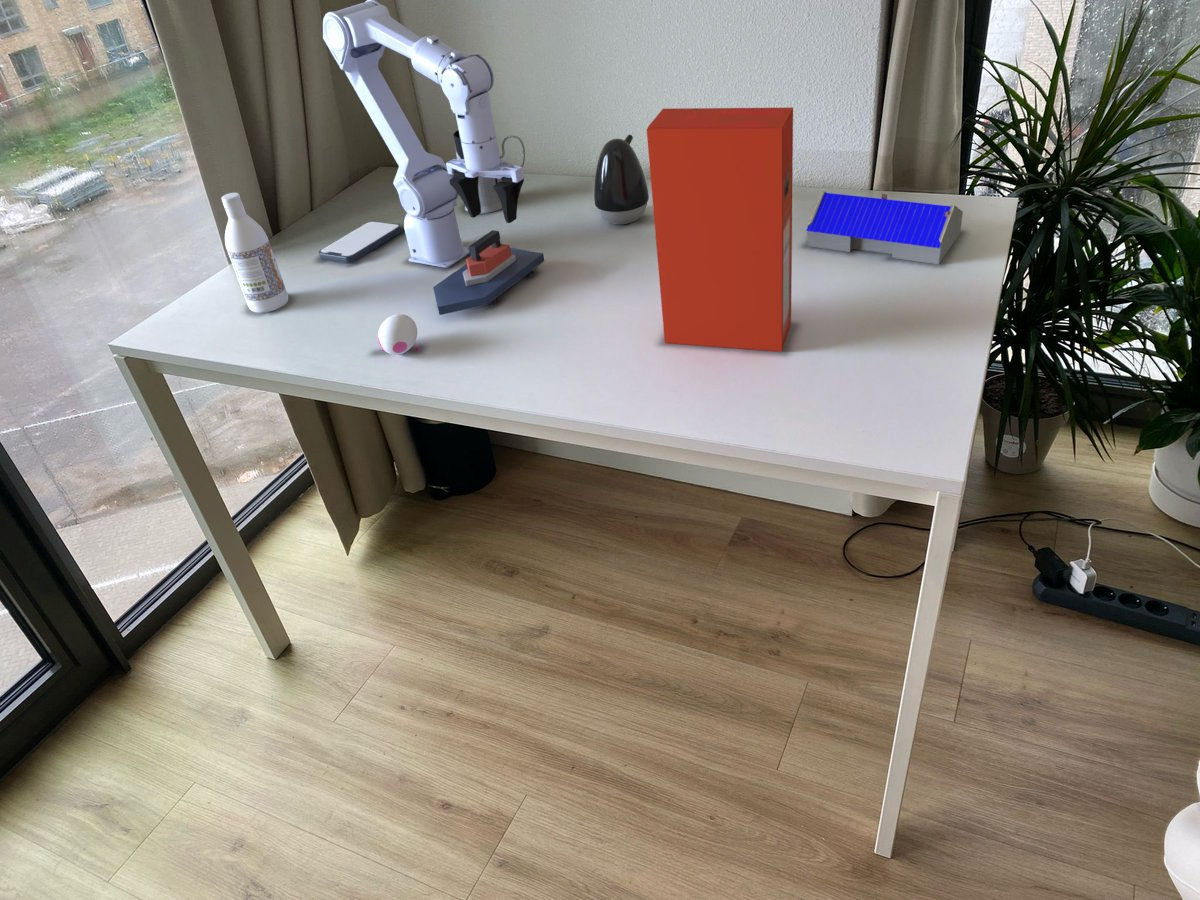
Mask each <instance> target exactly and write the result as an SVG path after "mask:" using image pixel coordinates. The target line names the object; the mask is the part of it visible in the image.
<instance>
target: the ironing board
mask: <svg viewBox="0 0 1200 900" xmlns="http://www.w3.org/2000/svg"><path fill="white" fill-rule="evenodd" d="M510 249H511V255H515V256H516V261H515V262H513V263H512V264H511V265H509V266H508V267H507V268H505V269H504V270H502V271H501V272H500V273H498V274H497V275H496V276H494V277H493V278H492V279H490V280H489V281H487V282H483V283H479V284H474V285H469V286H466V283H465V280H464V276H463V272H464V271H465V270H467V269H468V267H467V263H465V264H464V265H462V266H460V267H459V268H458V269H457V270H455V271H454V272H452V273H451V274H449V275H448V276H447V277H445V278H444V279H442V280H441V281H439V282H438V283H437V284H435V285H434V286H433V287H432V289H433V292H434V297H435V302H436V307H437V311H438V315H439V316H443V315H446V314H447V315H448V314H451V313H457V312H460V311H465V310H466V311H467V310H470V309H475V308H479V307H484V306H488V305H489V306H494V305H495V304H496V303H497V298H499V296H501V295H502V294H503V293H504V292H506V291H507V290H508V289H510V288H511V287H512V286H514V285H516V283H518V282H519V281H520V280H521V279H523V278H524V277H528V278H529V277H532V276H533V275H534V270H535V269H536V268H537V267H539V266H540V265H542V264H543V263H544V262H545V254H544V252H538V251H533V250H527V249H522V248H521V249H520V248H514V247H510Z"/></svg>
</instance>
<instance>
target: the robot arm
mask: <svg viewBox="0 0 1200 900" xmlns="http://www.w3.org/2000/svg"><path fill="white" fill-rule="evenodd" d="M389 11H390V10H389V9H388V7H387V6H386V5H383V4H381V3H380V2H379V1H378V0H366V1H365V2H361V3H358V4H355V5H351V6H348V7H345V8H342V9H339V10H335V11H328V12H326V13H325V15H324V17H323V19H322V39H323V41H324V43H325V44H326V46H327V47H328V49H329V52H330V53H331V55H332V57H333V59H334V60H335V61H336V63H337V65H338V67H339V69H340V70H341V71H344V73H345V76H346V77H347V79H348V80H349V83H350V84H351V86H352V87H353V89H354V91H355V93H356V95H357V96H358V98H359V100H360V101H361V103H362V105H363V106H364V108H365V110H366V112H367V113H368V115H369V117H370V119H371V120H372V123H373V124H374V126H375V127H376V130H377V131H378V133H379V135H380V136H381V138H382V139H383V141H384V143H385V145H386V146H387V148H388V150H389V152H390V153H391V155H392V157H393V158H394V161H395V162H396V164H397V166H398V167H397V168H398V169H397V171H396V174H395V177H394V179H393V185H394V187H395V189H396V191H397V194H398V198H399V202H400V204H401V207H402V208H403V210H404V211H405V212H406V214H405V216H404V222H403V229H404V233H405V238H406V241H407V245H408V249H409V253H410V257H409V258H408V262H411V263H417V264H422V265H427V266H434V267H439V268H445V269H448V268H450V267H451V266H453V265H454V264H456V263H458V262H459V261H460V260H462V259H463V258H465V257H466V256H468V255H470V254H469V249H468V246H464V245H463V243H462V238H461V233H460V230H459V224H458V219H457V216H456V209H455V207H456V206H457V205H458V204H457V199H458V198H459V197H460V199H461V200H462V202H463V204H464V207H465V206H466V208H467V210H468V211H467V212H468V214H469V216H470V218H472V219H474V218H476V217H477V216H479V215H481V214H480V213H481V205H480V199H479V191H478V177H479V176H483V177H491V178H499V179H501V181H500V182H499V183H497V184H495V185H494V186H493V187H494V189H495V191H496V193H497V195H498V197H499V199H500V202H501V205H502V209H501V210H502V214H503V218H504V220H505V222H506V224H511V223H512V222H515V220H517V216H518V215H517V214H518V213H517V212H518V203H519V198H520V193H521V190H522V187H523V185H524V182H525V175H524V166H523V167H521V165H515V164H512V163H510V162H507V161H504V160H502V159H500V156H501V155H500V150H499V145H498V138H497V133H496V128H495V121H494V115H493V110H492V106H491V100H490V94H489V91H490V92H491V90H492V89H493V87H494V82H495V76H494V71H493V69H492V67H491V64H490V63H489V61H487V59H486V58H484V57H483V56H482V55H481V54H480V53H472V54H463V53H462V52H461V51H459V50H458V49H455V48H453V47H451V46H449V45H448V44H446V43H445V42H442V41H441V40H440V37H438V36H437V35H436V34H432V35H425V36H423V37H420V36H418V35H417V34H416V33H414V32H413V31H411V30H410V29H409V28H408V27H406V26H404V25H403V24H402V23H400V22H399V21H397V20H396V19H395V18H393V17H392V16H391V14H390V12H389ZM386 48H388V49H390V50H392V51H394V52H396V53H398V54H400V55H402V56H404V57H406V58H408V59H410V60H411V65H412V67H413V69H414V70H415V72H418V73H419V74H421V75H423V76H424V77H426V78H427V79H430V80H431V81H433V82H434V83H436V84H438V85H439V86H441V89H442V92H443V94H444V95H445V97H446V98H447V99H448V102H449V105H450V110H451V111H452V113H453V114H455V119H456V123H457V128H458V130H459V134H460V139H461V144H462V149H463V154H464V159H457V158H452V159H450V160H448V161H446V163H445V162H444V161H445V160H443V158H442V157H441V156H438V155H435V154H433V153H430V152H429V151H428V152H427V151H426V150H425V148H424V147H423V144H422V142H421V141H420V139H419V138H418V136H417V134H416V132H415V131H414V129H413V127H412V125H411V123H410V121H409V120H408V118H407V116H406V115H405V113H404V112H403V111H404V110H403V109H402V108H401V106H400V104H399V102H398V101H397V99H396V96H395V95H394V93H393V92H392V90H391V88H390V86H389V84H388V82H387V81H386V79H385V78H384V75H383V74H382V72H381V71H380V68H379V63H380V62H379V60H380V59H381V58H382V57H383V55H384V52H385V49H386ZM420 175H421V176H420ZM416 177H417V178H416Z"/></svg>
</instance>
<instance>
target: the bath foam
mask: <svg viewBox="0 0 1200 900" xmlns="http://www.w3.org/2000/svg"><path fill="white" fill-rule="evenodd" d="M221 202H222V204H223V207H224V210H225V213H226V215H227V218H228V220H227V223H226V227H225V231H224V232H225V233H224V244H225V249H226V251H227V254H228V256H229V259H230V262H231V265H232V268H233V270H234V272H235V275H236V278H237V281H238V283H239V285H240V289H241V291H242V293H243V294H242V295H243V296H244V299H245V302H246V305H247V307H248V309H249V310H250V311H252V312H254V313H258V314H264V313H270V312H273V311H276V310H278V309H280V308H282V307H284V306H285V305H286V304H287V303H288V301H289V295H288V291H287V289H286V285H285V282H284V280H283V277H282V274H281V271H280V269H279V266H278V263H277V260H276V257H275V254H274V251H273V248H272V245H271V243H270V240H269V237H268V235H267V234H266V233H267V232H266V231H265V230H264V228H263V227H262V226H261V224H259V223H258V222H257V221H256V220H255V219H253V218H252V217H250V216H249V215H248V214H247V212H246V209H245V207H244V203H243V202H242V199H241V195H240V193H238V192H229V193H226V194H224V195H223V196H221Z"/></svg>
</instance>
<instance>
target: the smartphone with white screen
mask: <svg viewBox="0 0 1200 900" xmlns="http://www.w3.org/2000/svg"><path fill="white" fill-rule="evenodd" d="M402 232H403V229H402V226H401V224H398V223H389V222H382V221H375V220H374V221H373V220H372V221H367V222H366V223H364V224H362V225H360V226H359V227H357V228H355V229H354V230H352V231H351V232H349V233H347V234H345V235H344V236H341V237H340V238H339V239H336V240H335V241H333V242H332V243H330V244H328V245H326V246H325V247H323V248H322V249H320V250H319V251H318V256H319V258H320V259H321V260H326V261H333V262H339V263H345V264H352V263H354V262H356V261H358V260H360V259H361V258H363V257H364V256H366V255H367V254H369V253H371V252H372V251H374V250H375V249H377V248H379V247H380V246H382V245H383V244H386V243H387V242H388V241H390V240H391V239H394V238H395V237H396V236H398V235H399V234H401V233H402Z"/></svg>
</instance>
